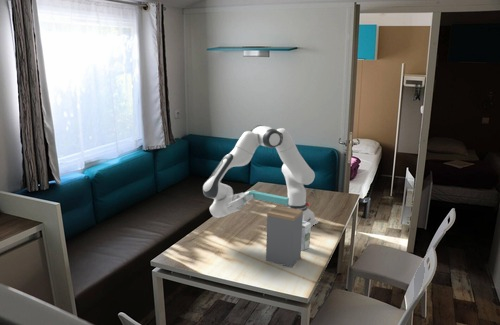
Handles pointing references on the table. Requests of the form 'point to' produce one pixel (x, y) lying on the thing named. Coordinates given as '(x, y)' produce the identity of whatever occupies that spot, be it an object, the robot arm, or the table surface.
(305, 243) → the syrup box
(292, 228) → the pedestal
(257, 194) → the teal batten
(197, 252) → the table surface
